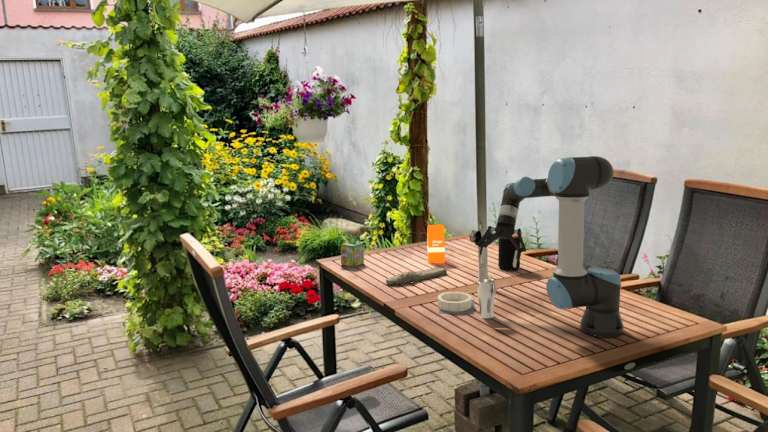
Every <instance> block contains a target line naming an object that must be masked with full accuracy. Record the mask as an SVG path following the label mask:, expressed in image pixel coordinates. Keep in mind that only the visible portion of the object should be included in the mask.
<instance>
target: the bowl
mask: <svg viewBox="0 0 768 432" xmlns="http://www.w3.org/2000/svg"><path fill="white" fill-rule="evenodd" d="M472 300H473V297H472V295H471V294H469V293H467V292H461V291H448V292H447V291H446V292H442V293H439V294H438V295H437V309H439V310H440V309H441V310H443V311H447V312H463V311H467V310H469V309H471V307H472Z"/></svg>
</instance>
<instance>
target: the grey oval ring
mask: <svg viewBox="0 0 768 432" xmlns="http://www.w3.org/2000/svg"><path fill="white" fill-rule="evenodd" d="M438 311H439V312H438V314H439V315H446V314H447V315H474V313H475V299H472V307H471V309H469V310H467V311H463V312H447V311H443V310H441V309H439V310H438Z"/></svg>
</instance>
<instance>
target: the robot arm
mask: <svg viewBox="0 0 768 432" xmlns="http://www.w3.org/2000/svg"><path fill="white" fill-rule="evenodd" d="M548 169H549V170H548V175H547V177H546V178H535V179H533V178H531V177H529V176H522V177H520V178H519V179H517V180H516V181H515V182H510V183H509V182H508V183H507V184H505V185H504V189H503V192H502V199H501V203H500V207H499V212H498V216H497V222H496V226H495V227H493V226H491V225H488V227H487V230H486V231H485V233H484V234H483V235H482V236H481V238H480V239H479V240H478V241H477V242H476V245H477V246H478V248H480V250H479V255H480V259H479V263H480V264H481V265H484V263H485V259H486V254H487V253H486V252H487V247H488V246H490V245H491V244H492V243H493V242H494V241H496V240H499V238H500V239H509V238H510V240H511V241H512V243H513V244H514V246H515V247H516V249H517V250H518V251H517V250H516V251H515V256H514V261H513V267H514V268H516V264H517V260H519V259H520V260H521V255H522V253H526V252H527V248H526V245H525V243H524V242H525V241H524V240H523V236H522V229H521V228H518V229H516V223H517V218H518V213H519V207H520V203H521V202H522V201H524V200H525V199H530V198H542V197H543V198H544V197H545V198H546V197H555V198H556V199H557V200H558V231H557V235H558V236H557V237H558V239H557V241H558V242H557V249H558V250H557V267H555V268H554V269H553V272H552V274H553V276H550V277H549V278H548V279H547V281H546V285H545V286H546V293H547V296H548V299H549V300H550V302H551V303H552V305H553V306H554V307H555V308H556V309H558V310H559V309H560V310H567V309H568V310H571V309H575V308H576V309H577V308H584V307H585V310H584V312H583V314H582V317H581V319H580V322H579V323H580V324H579V329H580V330H582V333H584V332H585V333H584V334H586V333H587V334H586V335H589V334H591V335H590V336H592V335H596V336H602V337H601V338H604V337H611V338H616V337H615V336H617V337H620V336H622V335H623V334H624V331H625V330H624V323H623V320H622V316H621V313H620V304H621V303H620V302H621V286H622V282H621V281H622V279H621V275H620V273H618V271H615V270H613V269H610V268H605V267H597V266H594V267H593V266H591V267H588V268H587V270H586V269H585V268H584V244H585V243H584V239H585V202H586V200H587V199H589V197H590V190H598V189H603V188H604V187H605V188H606V187H607V186H608V185H609V184H611V182H612V181H613V177H614V167H613V165H612V164H611V162H610V161H609V160H607V159H606V158H605V157H602V156H598V155H597V156H596V155H594V156H576V157H575V156H573V157H564V158H558V159H556V160H555V161H553V163H552V164H551V166H550V167H549V168H548ZM493 232H494V233H493ZM492 233H493V234H492ZM514 233H516V234H517V235H518V237H519V240H520V247H519V246H518V244H517V243H516V241H515V240H514V238H513V236H512V235H513V234H514ZM491 234H492V235H491ZM622 333H623V334H622ZM621 334H622V335H621ZM619 335H620V336H619ZM596 336H595V337H596Z"/></svg>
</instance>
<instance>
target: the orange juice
mask: <svg viewBox="0 0 768 432" xmlns="http://www.w3.org/2000/svg"><path fill="white" fill-rule="evenodd" d="M426 232H427V233H426V235H427V236H426V238H427V239H426V241H427V244H426V245H427V262H428V264H445V262H446V257H445V256H446V249H445V248H446V246H445V244H446V243H445V242H446V241H445V240H446V239H445V237H446V236H445V225H444V224H427V231H426Z"/></svg>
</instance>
